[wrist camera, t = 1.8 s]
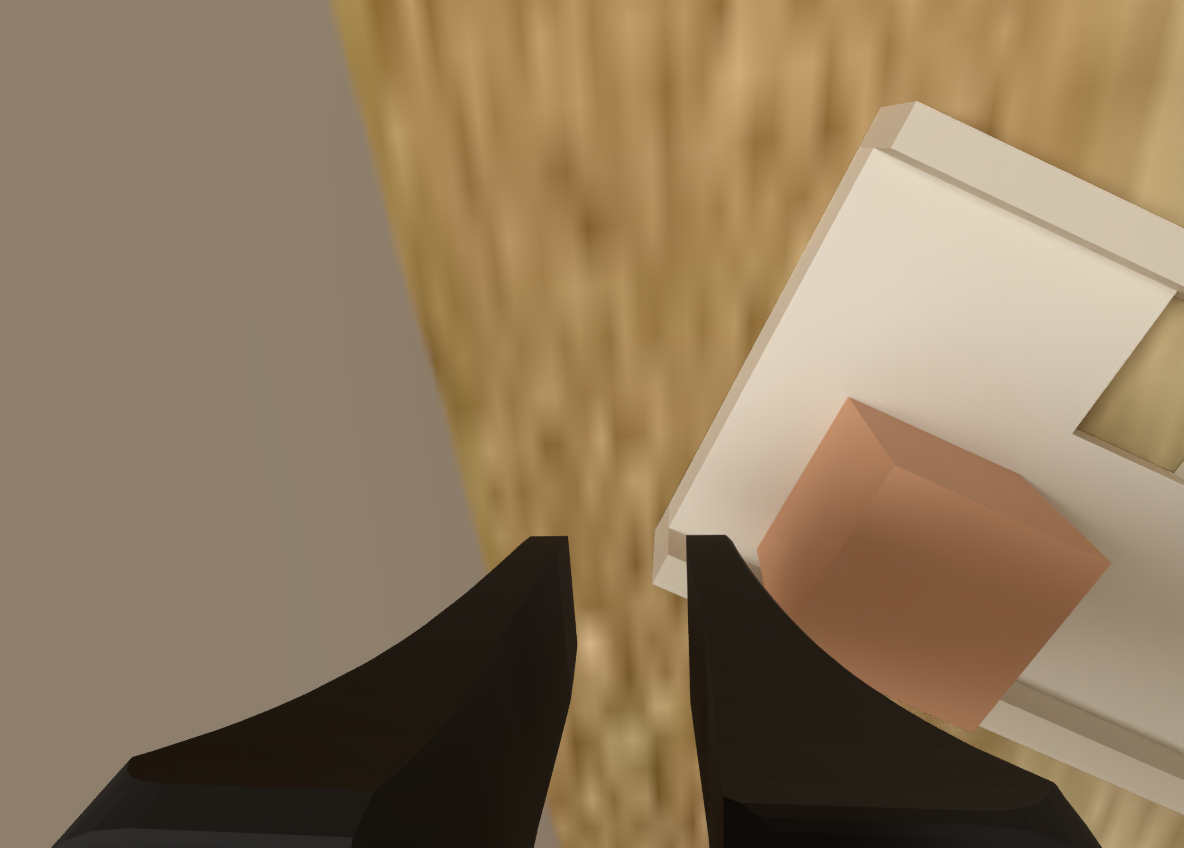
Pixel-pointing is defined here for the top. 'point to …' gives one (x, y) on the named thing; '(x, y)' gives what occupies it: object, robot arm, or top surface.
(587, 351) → the top surface
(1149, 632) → the lane
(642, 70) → the top surface
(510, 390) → the top surface
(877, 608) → the block
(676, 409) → the top surface
